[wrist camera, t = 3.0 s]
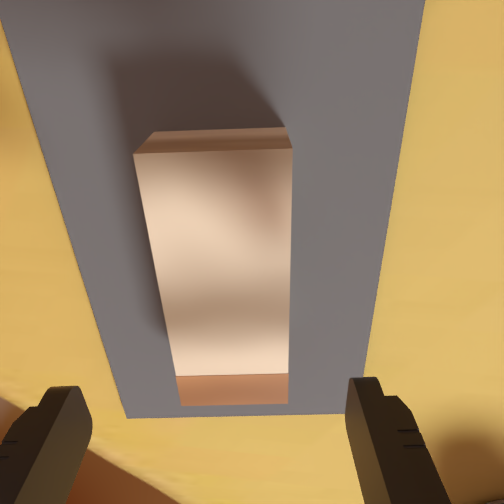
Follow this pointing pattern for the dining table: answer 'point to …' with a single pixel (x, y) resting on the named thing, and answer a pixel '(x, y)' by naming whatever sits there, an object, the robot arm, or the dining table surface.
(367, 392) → the robot arm
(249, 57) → the mat
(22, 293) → the dining table surface
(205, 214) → the tan rectangular block
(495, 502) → the soda can
